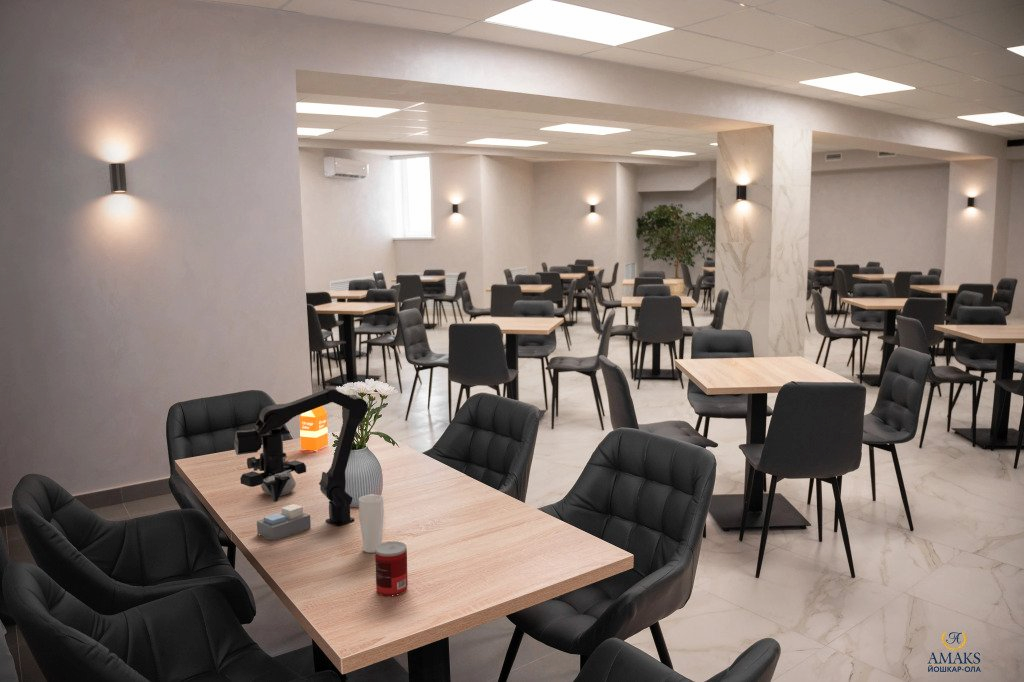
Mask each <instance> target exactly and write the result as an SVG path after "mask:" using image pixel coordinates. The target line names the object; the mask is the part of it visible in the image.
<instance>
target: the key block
mask: <svg viewBox="0 0 1024 682" xmlns="http://www.w3.org/2000/svg"><path fill="white" fill-rule="evenodd" d="M280 514H281V515H282V512H281V513H280ZM311 528H312V525H311V514H308V513H306V512H303V516H300V517H297V518H294V519H287V518H286V521H284V522H281V523H278V524H275V525H270V524H268V523H265V522H264V518H262V519H260V520H257V521H256V532H257V535H258V534H260V535H262V536H261V537H263V536H264V537H263V538H265V537H266V538H265V539H267V538H269V539H268V540H270V539H271V540H270V541H272V540H274V541H277V540H279V538H280V539H283V538H285V537H288V536H292V535H294V534H298V533H299V532H303V531H306V530H309V529H311ZM260 535H259V536H260ZM282 537H283V538H282ZM276 539H277V540H276Z"/></svg>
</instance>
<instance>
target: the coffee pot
mask: <svg viewBox="0 0 1024 682" xmlns="http://www.w3.org/2000/svg"><path fill="white" fill-rule="evenodd" d="M287 458H288V455H287V454H286V457H284V465H285V463H287V462H290V461H289V460H286V459H287ZM287 476H288V477H290V479H289V480H288V481H287V483H286V484H285V486H284V488H283V490H282V493H281V495H283V496H287V495H288V494H290V493H291V492H292V491H293V490H294V489H295V487H296V485H297V482H296V480H295V478H294V477H293V475H292V473H291V472H288V473H287ZM260 488H261V490H262V491H263V492H264V493H265V494H268V496H269V495H270V492H269V490H268V488H267V487H266V485H265V484H264V483H262V484H261V485H260ZM290 491H291V492H290ZM286 494H287V495H286ZM281 495H280V497H282V496H281Z"/></svg>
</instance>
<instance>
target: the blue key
mask: <svg viewBox="0 0 1024 682" xmlns="http://www.w3.org/2000/svg"><path fill="white" fill-rule="evenodd" d="M263 519H264V522H265V523H268V524H270V525H275V524H278V523H281V522H284V521H286V516H283V515H281V513H279V512H275V513H273V514H269V515H266V516H264V517H263Z"/></svg>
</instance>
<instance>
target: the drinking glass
mask: <svg viewBox="0 0 1024 682" xmlns="http://www.w3.org/2000/svg"><path fill="white" fill-rule="evenodd" d="M384 513H385V506H384V496H382V495H380V494H373V493H372V494H365V495H362V496H360V497H359V498H358V515H359V516H358V517H359V523H360V531H361V532H360V533H361V541H362V550H363V552H365V553H368V554H375V548H376V547H377V546H378V545H380V544H382V543H383V530H384V529H383V528H384V517H385V515H384Z"/></svg>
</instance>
